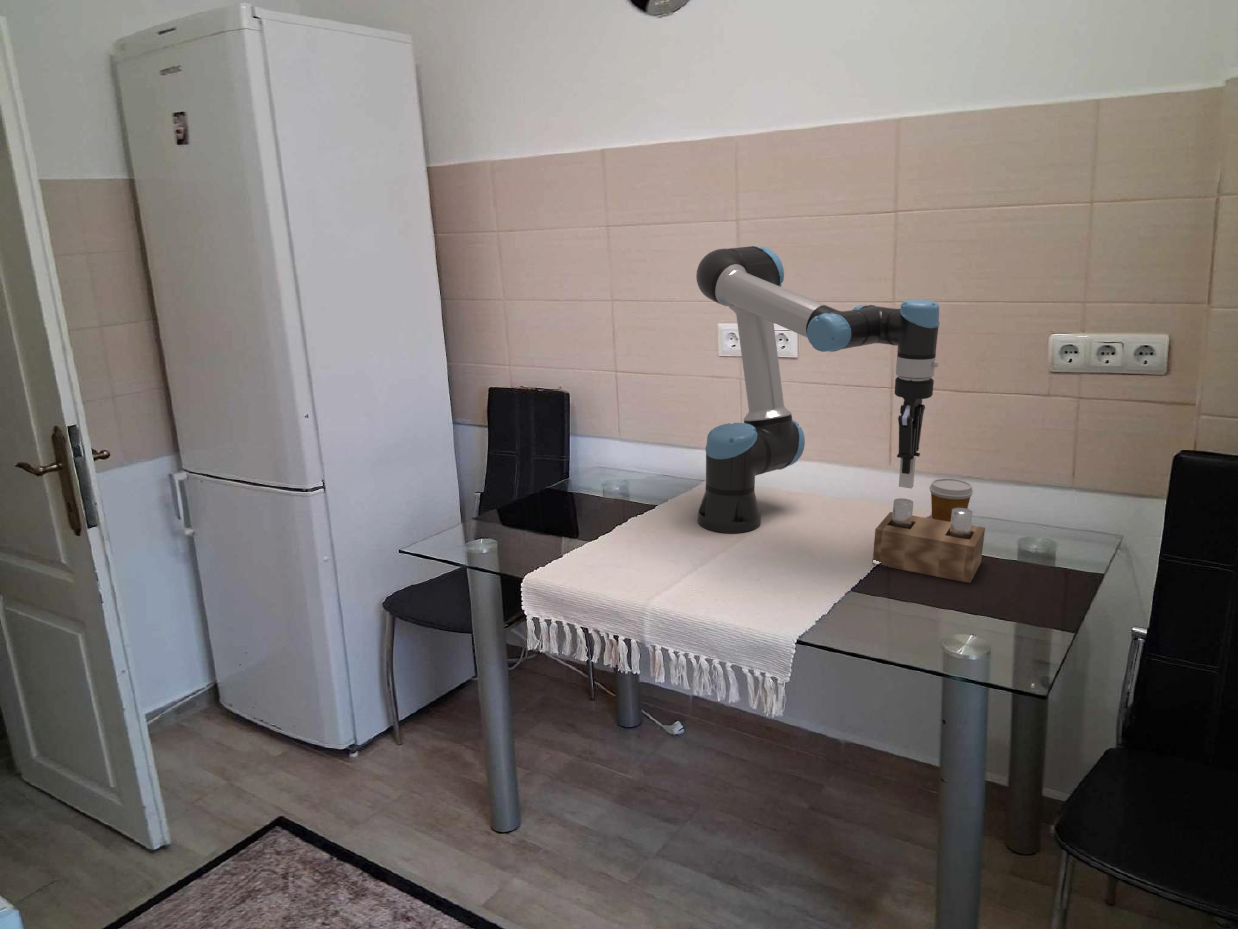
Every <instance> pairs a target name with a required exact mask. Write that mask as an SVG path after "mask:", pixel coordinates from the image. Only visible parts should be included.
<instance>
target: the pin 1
mask: <svg viewBox="0 0 1238 929" xmlns="http://www.w3.org/2000/svg"><path fill="white" fill-rule="evenodd" d="M892 506H893V507H892V512H893V516H892V526H895V527H901V528H906V529H911V522H912V516H913V509H914V508H913V507H914V501H913V500H912V499H908V498H895V499H894V500H893V505H892Z"/></svg>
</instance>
